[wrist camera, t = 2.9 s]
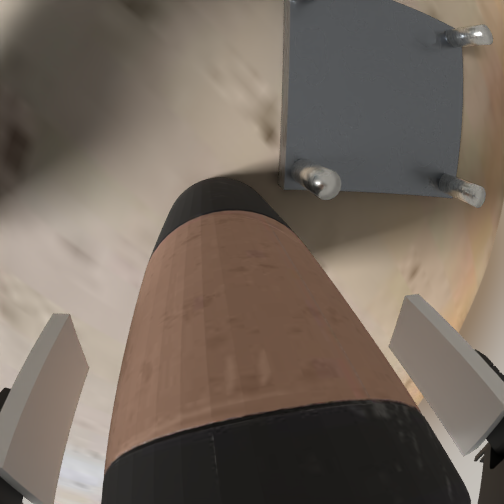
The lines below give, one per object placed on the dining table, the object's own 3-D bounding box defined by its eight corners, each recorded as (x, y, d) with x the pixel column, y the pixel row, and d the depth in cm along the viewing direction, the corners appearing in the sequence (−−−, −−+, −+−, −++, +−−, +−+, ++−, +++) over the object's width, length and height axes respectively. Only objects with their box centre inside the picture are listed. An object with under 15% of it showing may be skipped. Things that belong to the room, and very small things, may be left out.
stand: (278, 184, 20) (303, 207, 16) (284, -18, 14) (310, -53, 9) (441, 193, 23) (485, 213, 18) (449, 33, 17) (494, 27, 12)
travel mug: (295, 222, 22) (494, 488, 4) (223, 295, 23) (280, 583, 5) (214, 149, 19) (393, 547, 1) (141, 234, 20) (50, 565, 2)
